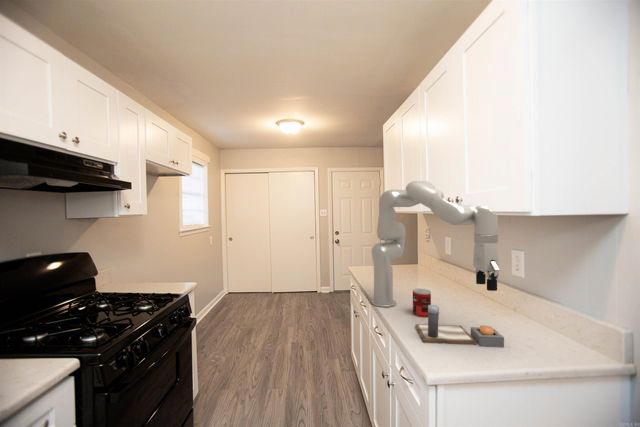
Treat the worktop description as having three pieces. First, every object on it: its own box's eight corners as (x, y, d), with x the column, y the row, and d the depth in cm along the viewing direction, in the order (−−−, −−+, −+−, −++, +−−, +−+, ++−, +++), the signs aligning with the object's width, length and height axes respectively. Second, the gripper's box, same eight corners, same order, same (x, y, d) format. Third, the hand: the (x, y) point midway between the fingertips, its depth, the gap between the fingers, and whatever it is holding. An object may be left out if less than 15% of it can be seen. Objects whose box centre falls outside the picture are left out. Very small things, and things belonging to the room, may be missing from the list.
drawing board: (415, 327, 118) (415, 323, 118) (461, 328, 116) (461, 325, 116) (423, 342, 104) (423, 338, 104) (475, 344, 102) (475, 340, 102)
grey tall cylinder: (426, 332, 109) (427, 304, 109) (436, 333, 108) (437, 305, 108) (428, 337, 105) (429, 308, 105) (439, 338, 105) (440, 308, 104)
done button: (477, 333, 107) (477, 325, 107) (490, 333, 107) (490, 325, 107) (482, 338, 103) (482, 330, 103) (495, 339, 102) (495, 330, 102)
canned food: (414, 310, 138) (414, 287, 138) (432, 313, 134) (432, 289, 134) (411, 315, 131) (410, 291, 131) (429, 318, 127) (429, 294, 127)
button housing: (470, 336, 109) (470, 327, 109) (492, 337, 108) (492, 327, 108) (479, 346, 101) (479, 336, 101) (503, 347, 100) (503, 337, 100)
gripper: (465, 237, 113) (466, 281, 113) (485, 242, 96) (486, 293, 96) (485, 237, 112) (486, 281, 113) (509, 242, 95) (510, 294, 95)
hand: (486, 286), depth 104 cm, fingers open, 8 cm apart
